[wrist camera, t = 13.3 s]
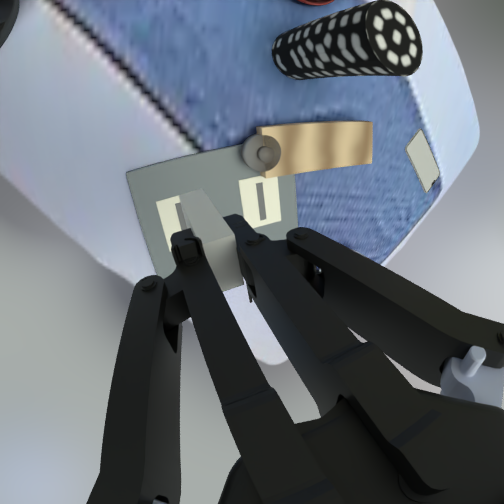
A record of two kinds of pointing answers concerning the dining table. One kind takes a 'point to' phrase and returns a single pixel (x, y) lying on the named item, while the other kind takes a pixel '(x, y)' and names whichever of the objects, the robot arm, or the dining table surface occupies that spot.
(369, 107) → the dining table surface
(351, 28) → the spotted tube
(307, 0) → the plant pot
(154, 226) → the label panel
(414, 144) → the smartphone
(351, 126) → the swing arm
